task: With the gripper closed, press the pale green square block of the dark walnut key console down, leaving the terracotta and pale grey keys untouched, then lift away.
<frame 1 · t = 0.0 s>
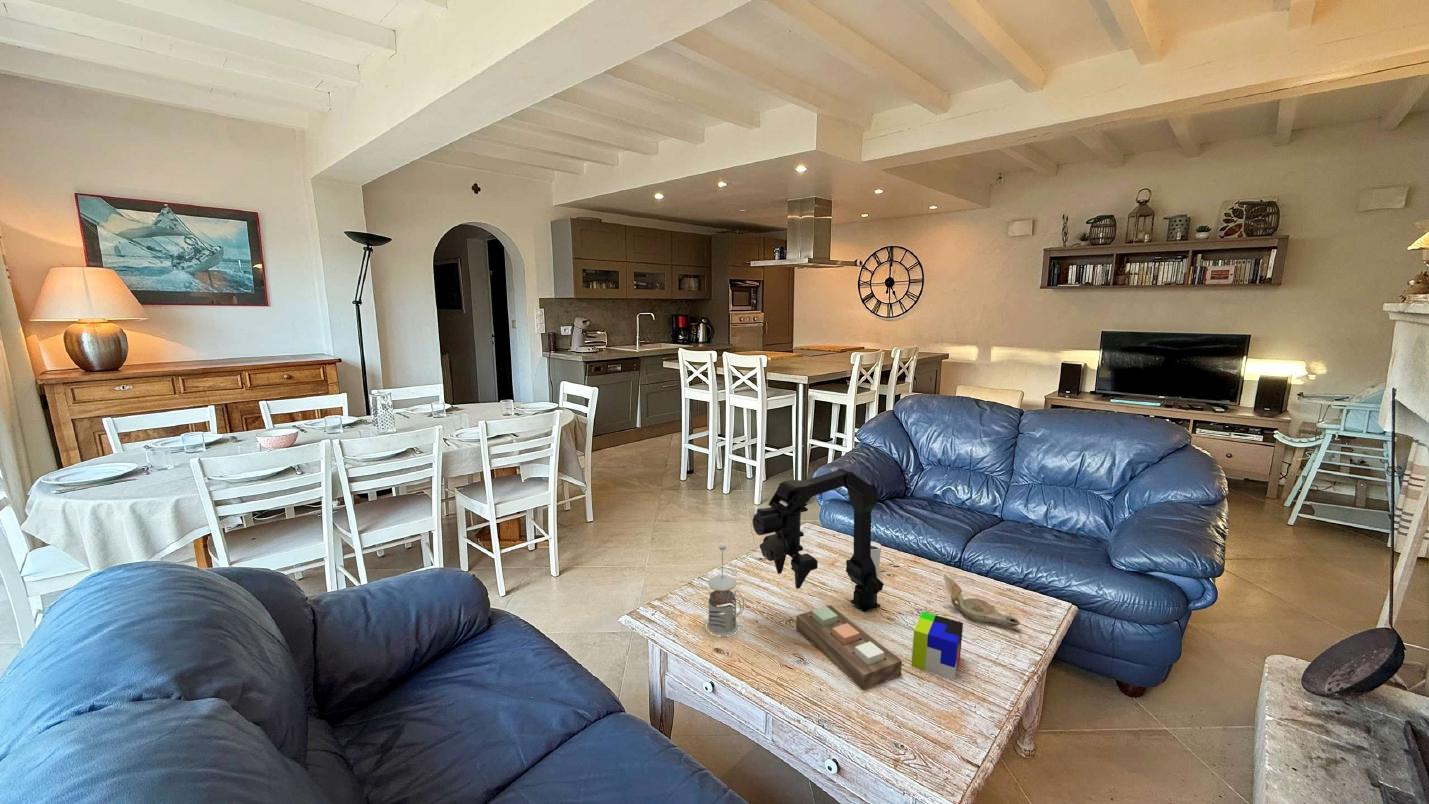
hand: (788, 580, 154), 15 cm above the table, tool pointing down, fingers open, 9 cm apart
key console: (845, 650, 147), on the table
drinking glass: (869, 573, 189), on the table
pale green square block: (824, 618, 154), point 4 cm above the table, slide at 0.0 cm
grey key: (869, 654, 138), point 4 cm above the table, slide at 0.0 cm
french press: (724, 628, 157), on the table
terracotta key: (845, 635, 146), point 4 cm above the table, slide at 0.0 cm
puzzle toy: (935, 662, 142), on the table
oil lamp: (978, 618, 162), on the table
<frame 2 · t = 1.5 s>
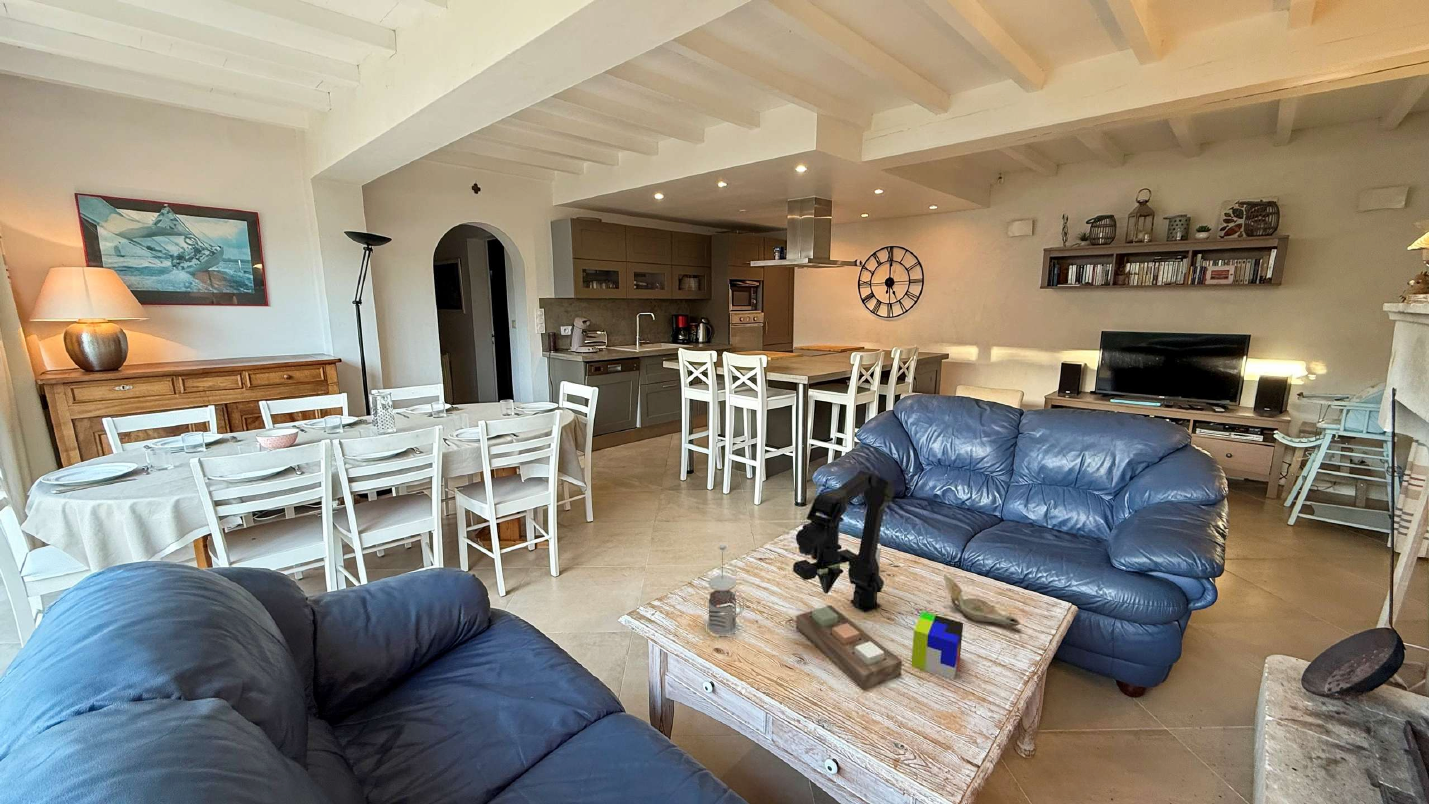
hand: (825, 592, 153), 12 cm above the table, tool pointing down, fingers closed
nothing on the table moved.
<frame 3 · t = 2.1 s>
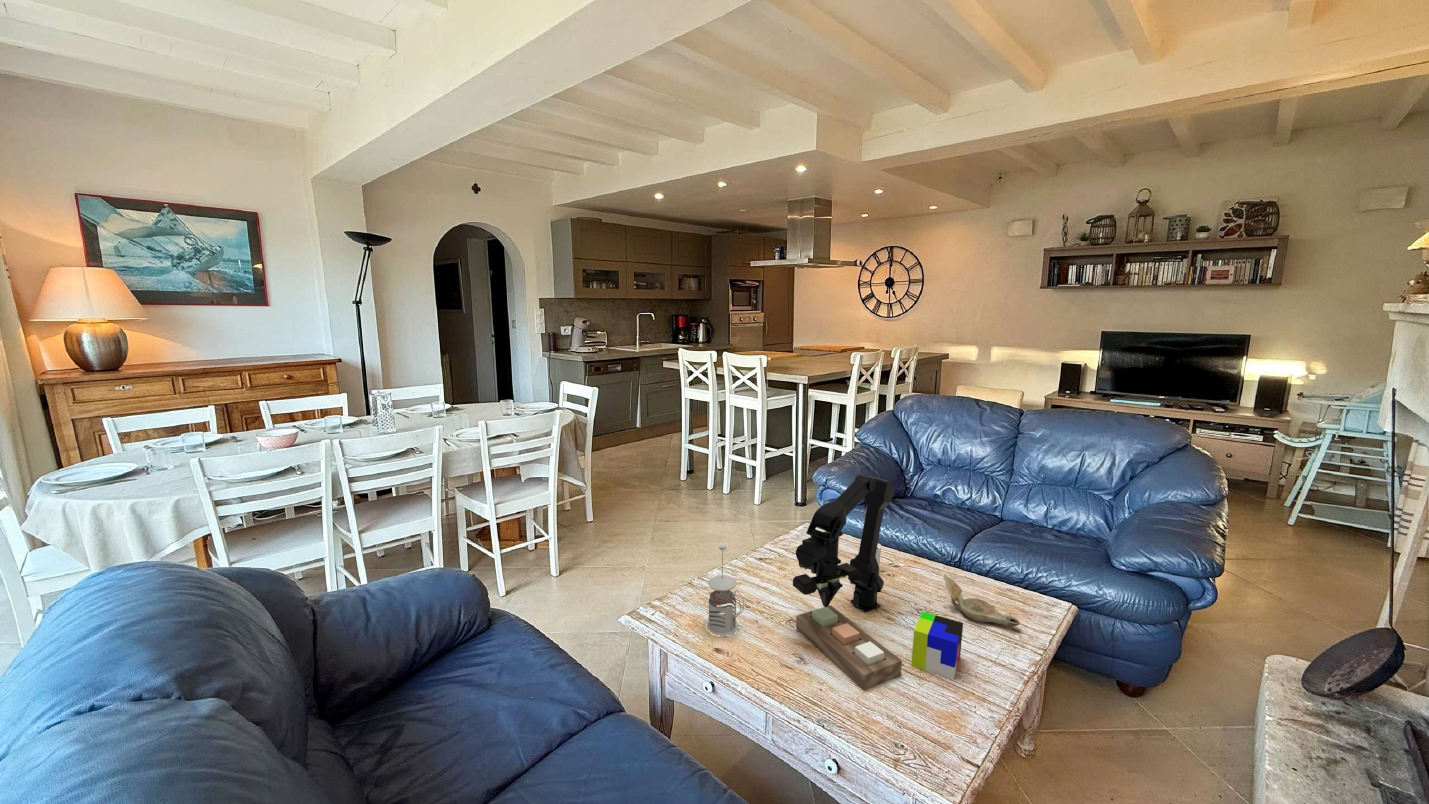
hand: (825, 606, 153), 8 cm above the table, tool pointing down, fingers closed
nothing on the table moved.
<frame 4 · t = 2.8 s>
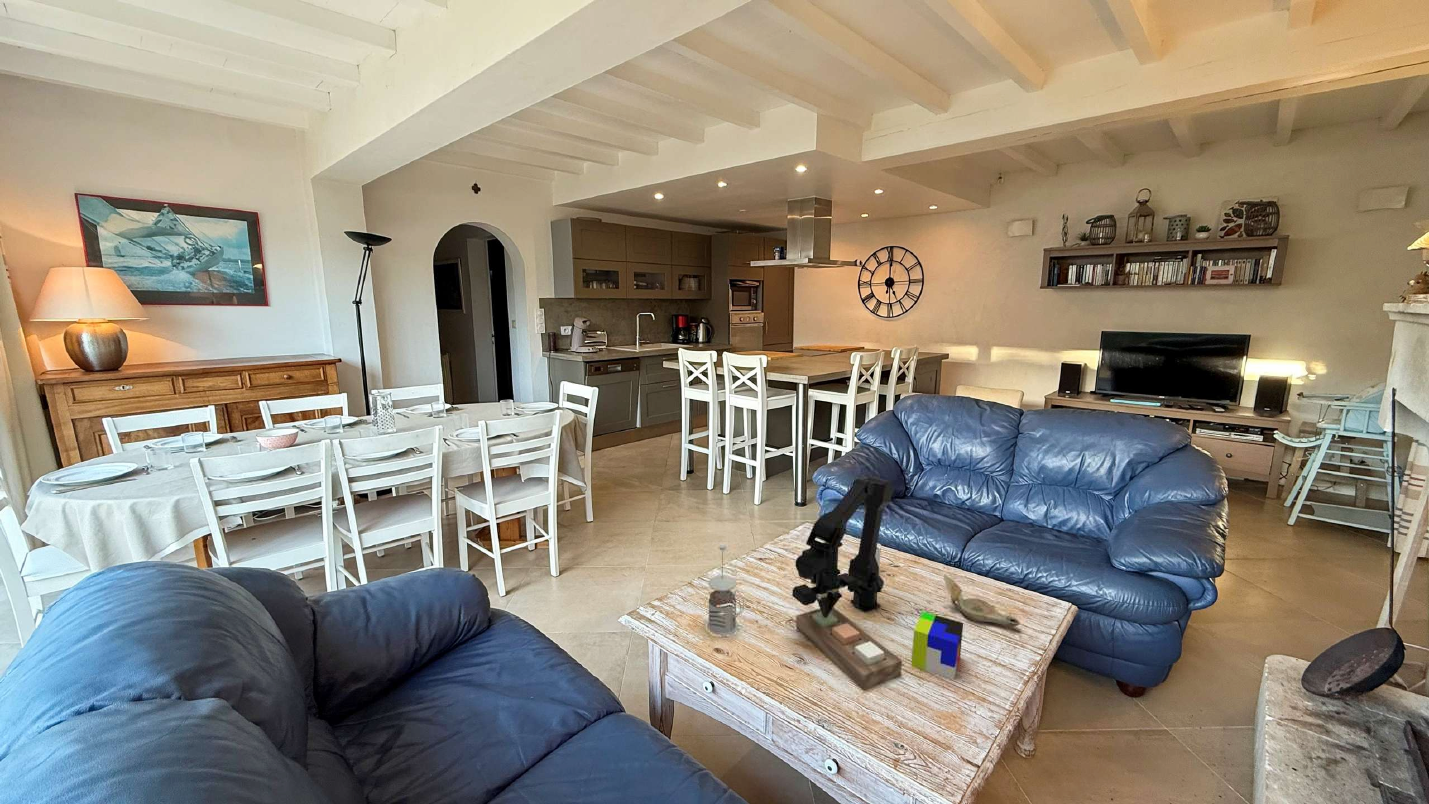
hand: (824, 616, 154), 5 cm above the table, tool pointing down, fingers closed, pressing on pale green square block
pale green square block: (824, 621, 154), point 3 cm above the table, slide at 1.0 cm, touching gripper
everything else where it was.
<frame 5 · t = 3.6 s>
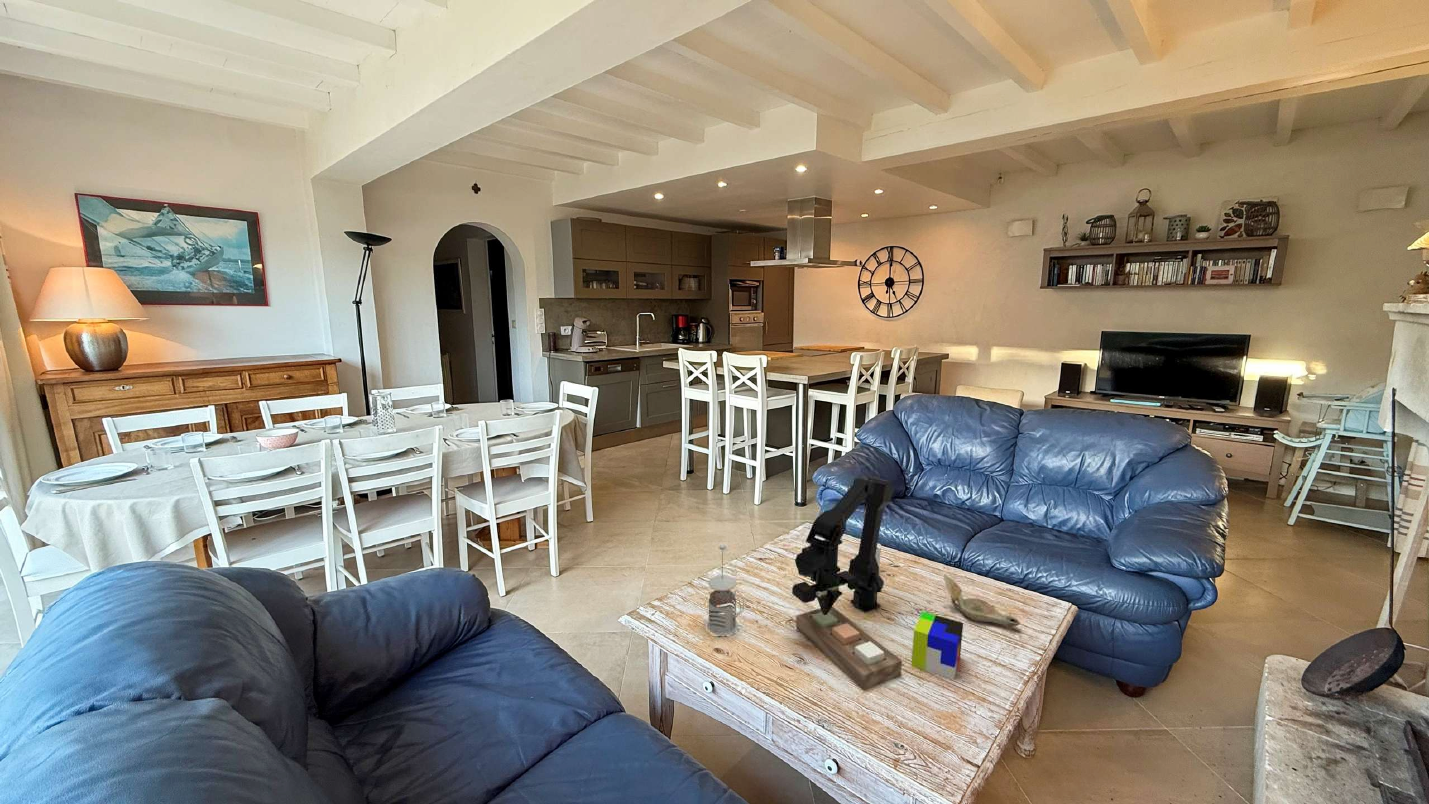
hand: (824, 614, 154), 6 cm above the table, tool pointing down, fingers closed
pale green square block: (824, 622, 154), point 3 cm above the table, slide at 1.2 cm
everything else where it was.
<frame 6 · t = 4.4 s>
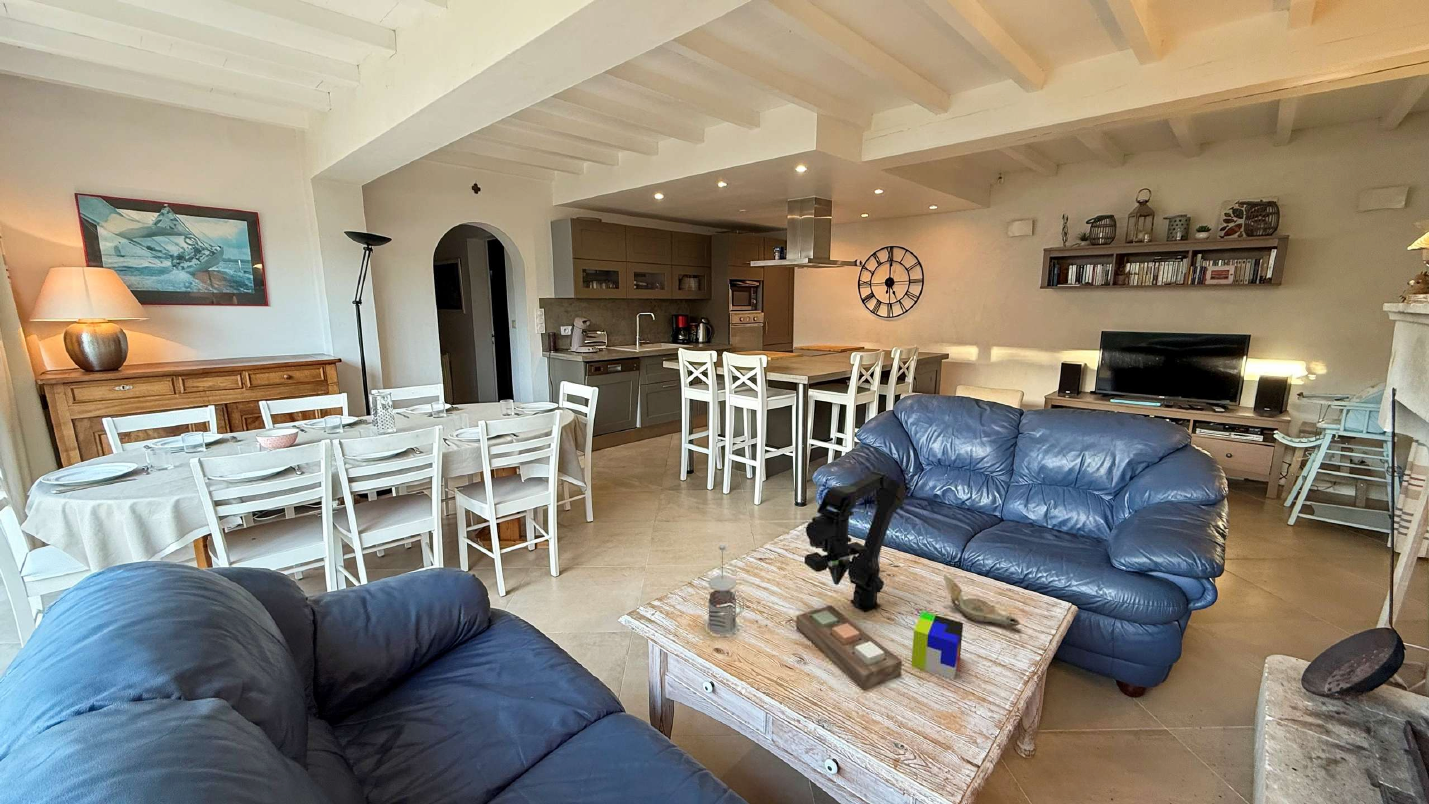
hand: (836, 584, 158), 12 cm above the table, tool pointing down, fingers closed
nothing on the table moved.
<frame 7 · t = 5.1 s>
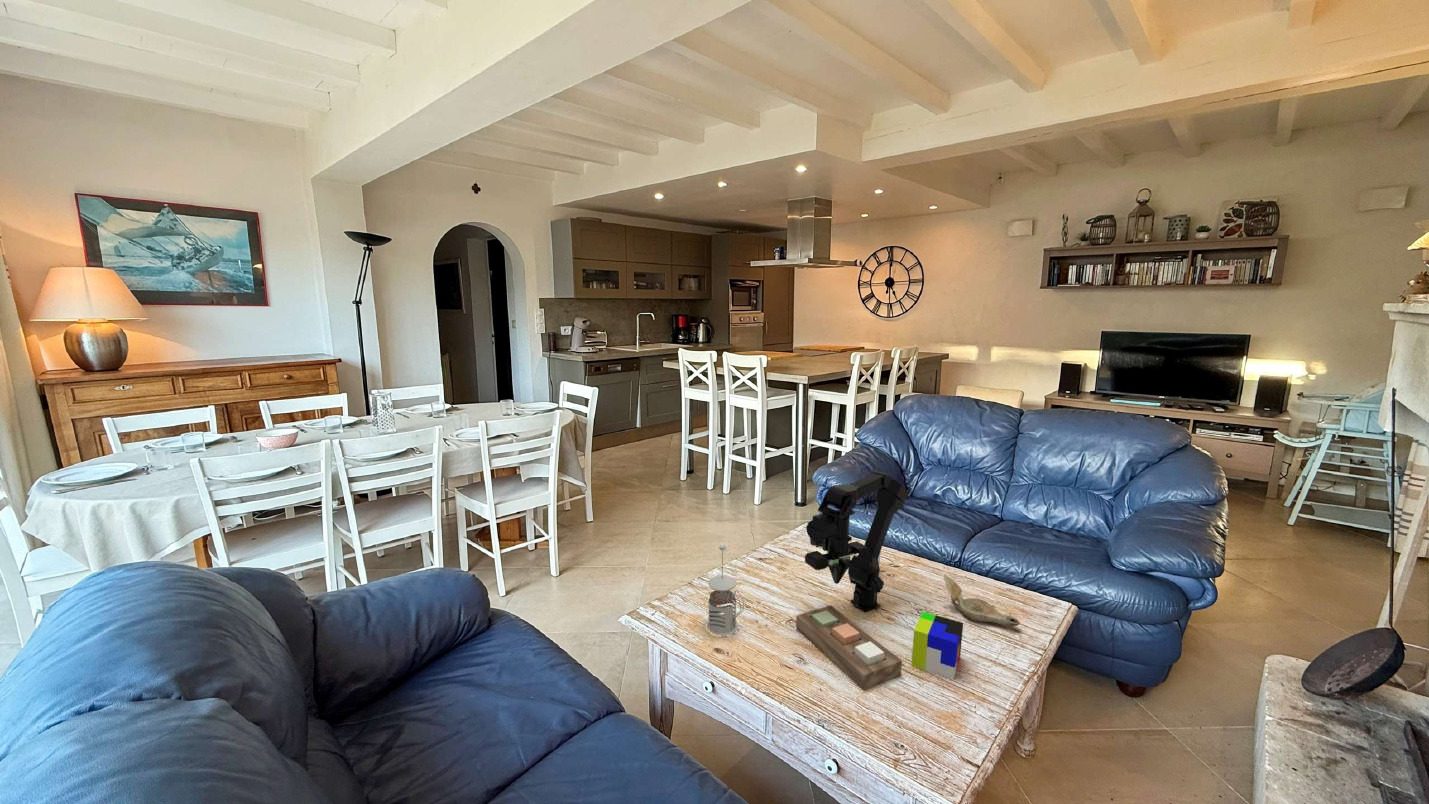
hand: (836, 583, 158), 12 cm above the table, tool pointing down, fingers closed
nothing on the table moved.
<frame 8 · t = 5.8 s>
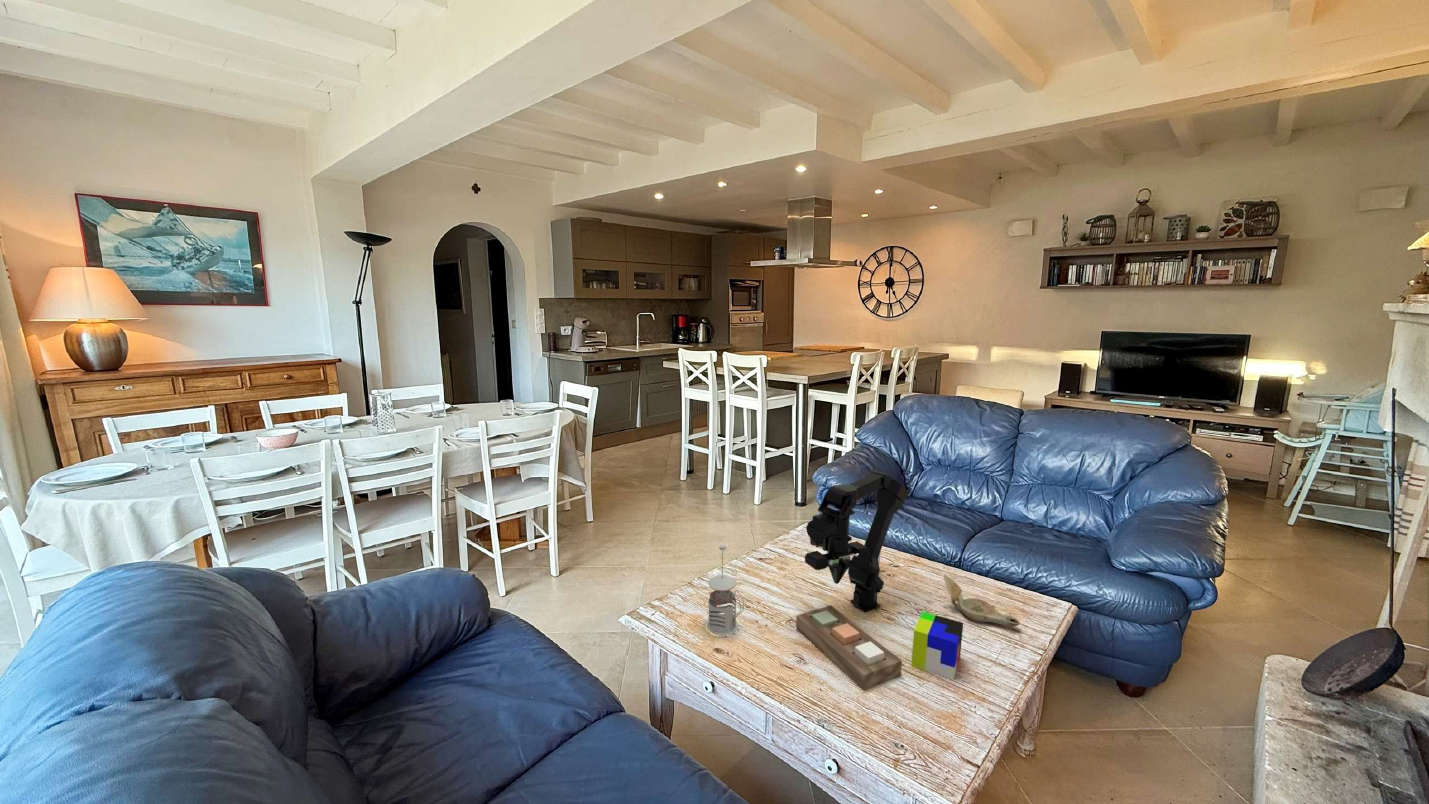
hand: (836, 583, 158), 12 cm above the table, tool pointing down, fingers closed
nothing on the table moved.
at the end: pale green square block slide at 1.2 cm; terracotta key slide at 0.0 cm; grey key slide at 0.0 cm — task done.
